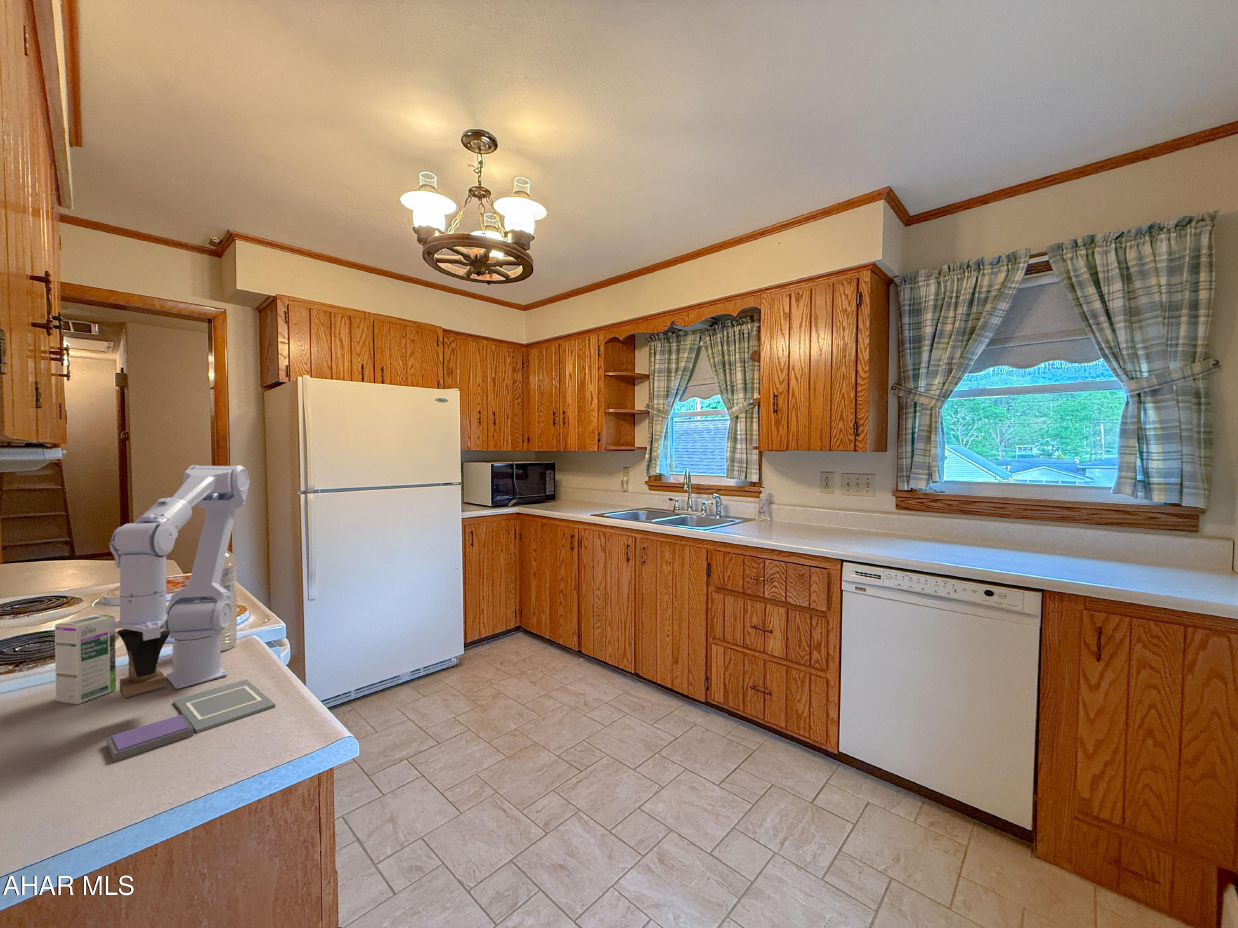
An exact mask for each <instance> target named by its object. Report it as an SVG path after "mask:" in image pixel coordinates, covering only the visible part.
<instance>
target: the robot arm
mask: <svg viewBox="0 0 1238 928" xmlns="http://www.w3.org/2000/svg"><path fill="white" fill-rule="evenodd" d="M182 483H183V484H182V485H180V487H179V488H178V489H177V491H176V492H175V493H174V494H173V496H171V497H164V498H163V497H162V498H159V499H158V500H157V501H156V503H155V504H154V505H152V506H151V507H150V508H148V510H147V511H146V512H145V513H143V514H142V515H141V516H140V517H139V518H138V519H136V520H135V522H132V523H131V522H130V523H125V524H123V525H122V526H119V527H117V528H115V530H114V532H113V534H112V536H111V541H110V542H109V549H110V552H111V554H112V555H113V556H114V565H115V566H116V568H117V569H119V620H117V621H115V622H112V623H110V629H115V630H116V629H119V630H117V631H116V633H117V635H118V636H119V637H120V639H121V640H122V642H123V643H124V646H125V649H126V652H127V656H128V658H129V651H130V653H131V656H132V660H133V665H134V670H135V673H136V675H137V677H142V676H146V675H150V674H154V672H155V670H156V666H157V667H158V662H159V657H160V654H161V651H162V649H163V647H164V645H165V643H166V641H167V640H168V638H169V639H170V640H171V639H172V640H173V639H174V641H173V643H172V657H171V658H172V664H171V665H172V666H171V667H172V671H171V672H168V673H165V677H166V679H167V680H169V682H170V683H171V685H172V686H173V687H174V688H175V689H178V690H179V689H183V688H186V687H190V686H194V685H197V684H200V683H205V682H209V681H211V680H217V679H219V678H223V677H226V676H228V672H227V671H226V670H224V668H222V666H221V662H222V661H221V659H222V658H221V653H222V652H221V631H222V630H224V629H225V628H226V627H227V626H228V624H229V623H230V620H231V617H232V595H231V593H230V592H228V591H227V590H226V589H224V588H223V587H221V586H220V585H219V584H220V580H221V575H222V571H223V567H224V562H225V558H226V553H227V550H228V548H229V544H230V541H231V534H232V530H233V528H234V527H233V526H234V522H235V517H236V513H237V510H238V509H239V508H242V507H243V506H244V505H245V503H246V500H247V496H248V490H249V485H250V478H249V473H248V471H247V469H246V468H245V467H244V466H243V465H198V464H192V465H190V466H188V468H187V469H186V470H185V471H184V473H183V480H182ZM195 506H196V507H199V508H201V509H203V510H205V511H206V515H205V517H204V518H205V519H204V522H203V525H202V529H201V534H200V538H199V542H198V546H197V550H196V553H195V558H194V561H193V566H192V570H191V572H190V577H189V581H188V584H187V585H185V586H184V587H182V588H181V589H179V590H177V591H176V592H175V593H173V594H172V595H171V597H170V599H169V603H168V605H167V555H168V554H169V553H171V552H172V550H173V549H174V547H175V543H176V542H175V541H176V539H177V538H178V535H179V533H178V532H179V531H180V530H181V529H182V528H183V527H184V525H186V523H188V521H189V520H190V519H191V518H192V516H193V510H192V509H193V508H194V507H195ZM208 600H214V601H208ZM162 629H163V631H161V630H162Z"/></svg>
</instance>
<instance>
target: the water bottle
mask: <svg viewBox="0 0 1238 928" xmlns="http://www.w3.org/2000/svg"><path fill="white" fill-rule="evenodd" d="M237 565H238V558H237V557H236V556H235V554H233V553H232V552H231V551H229V550H228V549H227V553H226V558H225V562H224V567H223V571H222V575H221V580H220V584H219V585H220V586H221V587H223V588H224V589H226V590H227V591H228V592H230V593H231V595H232V617H231V620H230V623H229V624H228V626H227V627H226V628H225V629H224V630H222V631H221V653H222V652H226V651H228V650H231V649H233V648H234V647H235V646H236V644H237V635H238V634H237V627H238V625H237V624H238V623H237V618H238V616H237V609H238V607H237V606H238V603H237V601H238V599H237V597H238V596H237V595H238V591H237ZM208 601H214V600H208Z"/></svg>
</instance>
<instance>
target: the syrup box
mask: <svg viewBox="0 0 1238 928" xmlns="http://www.w3.org/2000/svg"><path fill="white" fill-rule="evenodd" d="M112 622H116V616H114V615H109V614H91V615H89V616H84V617H79V618H77V619H76V618H75V619H71V620H68V621H63V622H59V623H55V625H54V645H55V646H54V648H55V649H54V651H55V653H54V654H55V655H54V656H55V661H54V662H55V663H54V664H55V701H56V702H59V703H64V704H73V705H81V704H83V703H84V702H87V701H91V700H92V699H96V698H98V697H101V696H104V695H106V694H110V693H113V692H115V691H116V688H117V684H116V682H117V679H116V676H117V675H116V671H117V670H116V668H117V667H116V629H110V623H112Z"/></svg>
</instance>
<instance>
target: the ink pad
mask: <svg viewBox="0 0 1238 928" xmlns="http://www.w3.org/2000/svg"><path fill="white" fill-rule="evenodd" d="M192 736H193V737H194V729H193V727H192V726H191V724H190V723H189V722H188V720H187V719H186V718H185V716H184V715H183V714H182V713H181V714H178V715H175V716H172V717H168V718H165V719H161V720H159V721H155V722H153V723H149V724H147V725H143V726H139V727H135V728H132V729H130V730H127V731H122V732H120V733H117V734H113V735H110V736H109V735H108V736H107V737H106V746H107V747H106V748H107V749H108V751H109V754H110V756H111V758H112V761H113V763H116V762H119V761H122V760H123V759H128V758H131V757H133V756H135V755H139V754H143V753H145V752H148V751H152V750H155V749H157V748H161V747H162V746H167V745H169V744H173V743H175V742H178V741H181V740H184V739H187V738H190V737H192Z"/></svg>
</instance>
